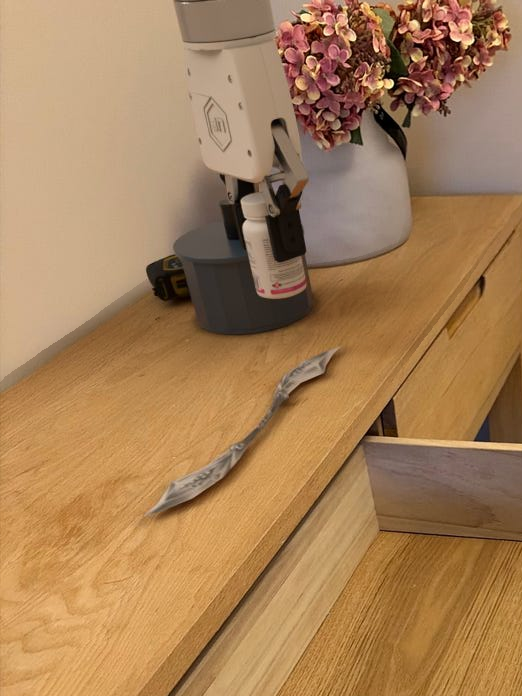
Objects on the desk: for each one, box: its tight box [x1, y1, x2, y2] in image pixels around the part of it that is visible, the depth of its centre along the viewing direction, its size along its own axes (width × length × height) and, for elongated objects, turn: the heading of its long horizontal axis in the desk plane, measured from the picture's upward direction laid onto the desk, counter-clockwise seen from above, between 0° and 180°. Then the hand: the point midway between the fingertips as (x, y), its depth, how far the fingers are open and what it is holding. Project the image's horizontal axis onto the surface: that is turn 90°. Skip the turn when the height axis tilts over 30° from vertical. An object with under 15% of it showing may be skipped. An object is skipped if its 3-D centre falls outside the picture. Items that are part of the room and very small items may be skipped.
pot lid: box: [172, 198, 305, 264], centre depth 102 cm, size 14×14×5 cm
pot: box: [181, 253, 314, 336], centre depth 105 cm, size 13×13×8 cm
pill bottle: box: [241, 190, 306, 299], centre depth 90 cm, size 5×5×8 cm
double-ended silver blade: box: [143, 345, 342, 517], centre depth 86 cm, size 32×1×5 cm
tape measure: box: [145, 253, 191, 302], centre depth 113 cm, size 7×7×4 cm
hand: (273, 249), depth 91 cm, fingers closed on pill bottle, 4 cm apart
